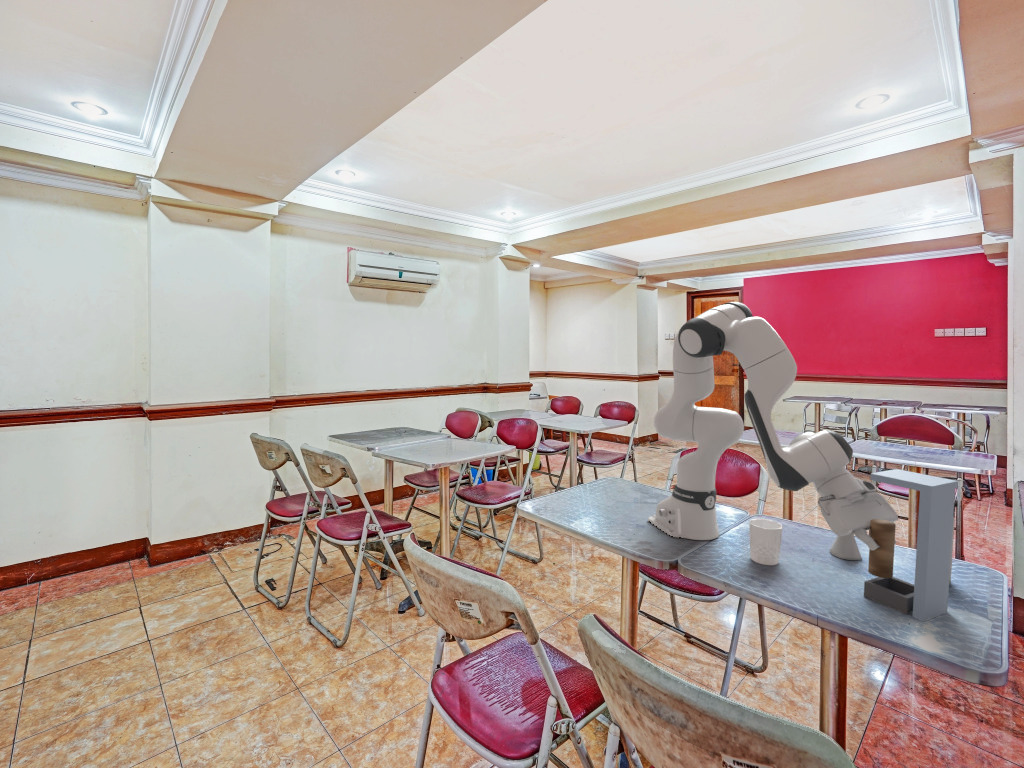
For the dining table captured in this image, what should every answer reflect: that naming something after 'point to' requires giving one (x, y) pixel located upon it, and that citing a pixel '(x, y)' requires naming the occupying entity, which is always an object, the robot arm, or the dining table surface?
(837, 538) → the flask
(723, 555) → the dining table surface
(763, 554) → the white cup
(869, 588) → the socket
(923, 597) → the awning
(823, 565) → the dining table surface
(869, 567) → the peg
